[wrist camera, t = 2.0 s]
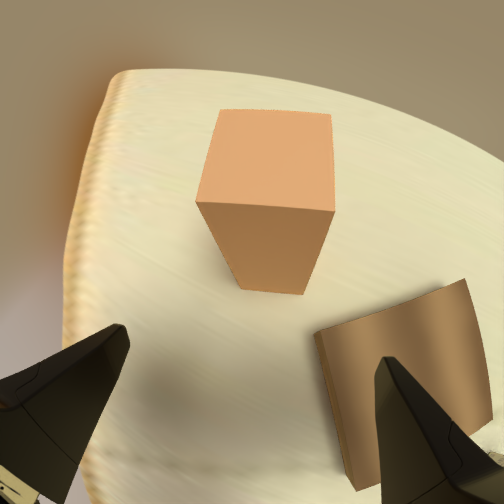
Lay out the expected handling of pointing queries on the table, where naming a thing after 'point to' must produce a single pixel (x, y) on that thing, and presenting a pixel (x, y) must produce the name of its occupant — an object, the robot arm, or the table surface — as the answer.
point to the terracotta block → (269, 195)
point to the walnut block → (414, 360)
